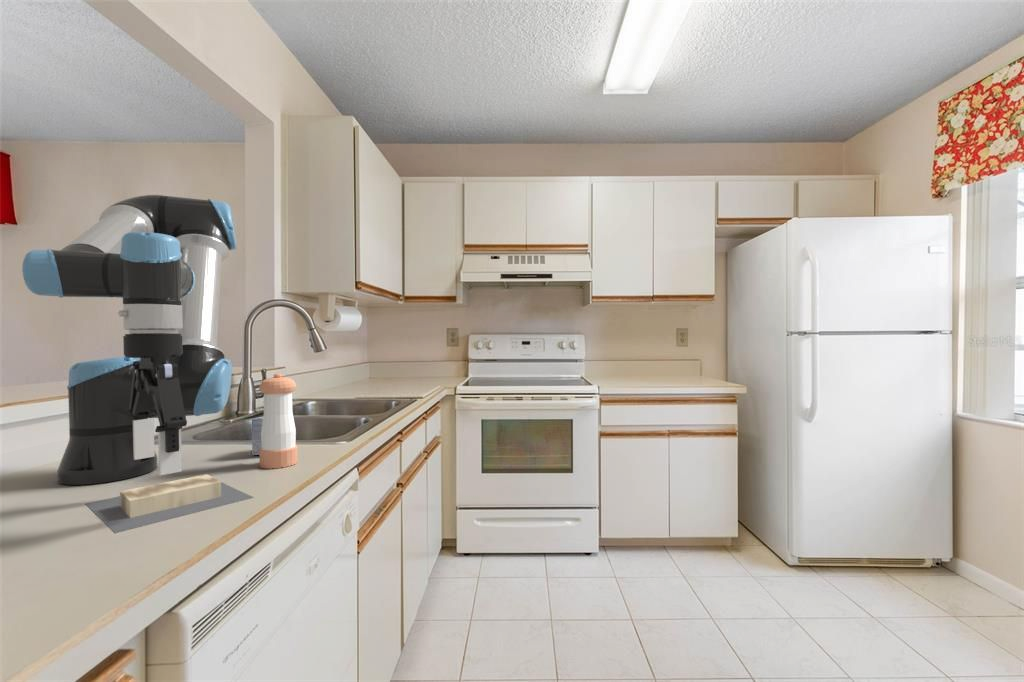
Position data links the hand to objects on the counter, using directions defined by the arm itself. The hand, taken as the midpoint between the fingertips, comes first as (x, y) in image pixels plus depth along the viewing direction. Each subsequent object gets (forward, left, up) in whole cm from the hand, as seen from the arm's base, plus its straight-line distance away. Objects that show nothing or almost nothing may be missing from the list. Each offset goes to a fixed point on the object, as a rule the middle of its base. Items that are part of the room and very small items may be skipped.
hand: (156, 465), depth 76 cm
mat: (0, +2, -7) cm, 7 cm away
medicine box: (-22, +28, -7) cm, 36 cm away
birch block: (+1, -4, -5) cm, 7 cm away
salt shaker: (-10, +24, -7) cm, 27 cm away
